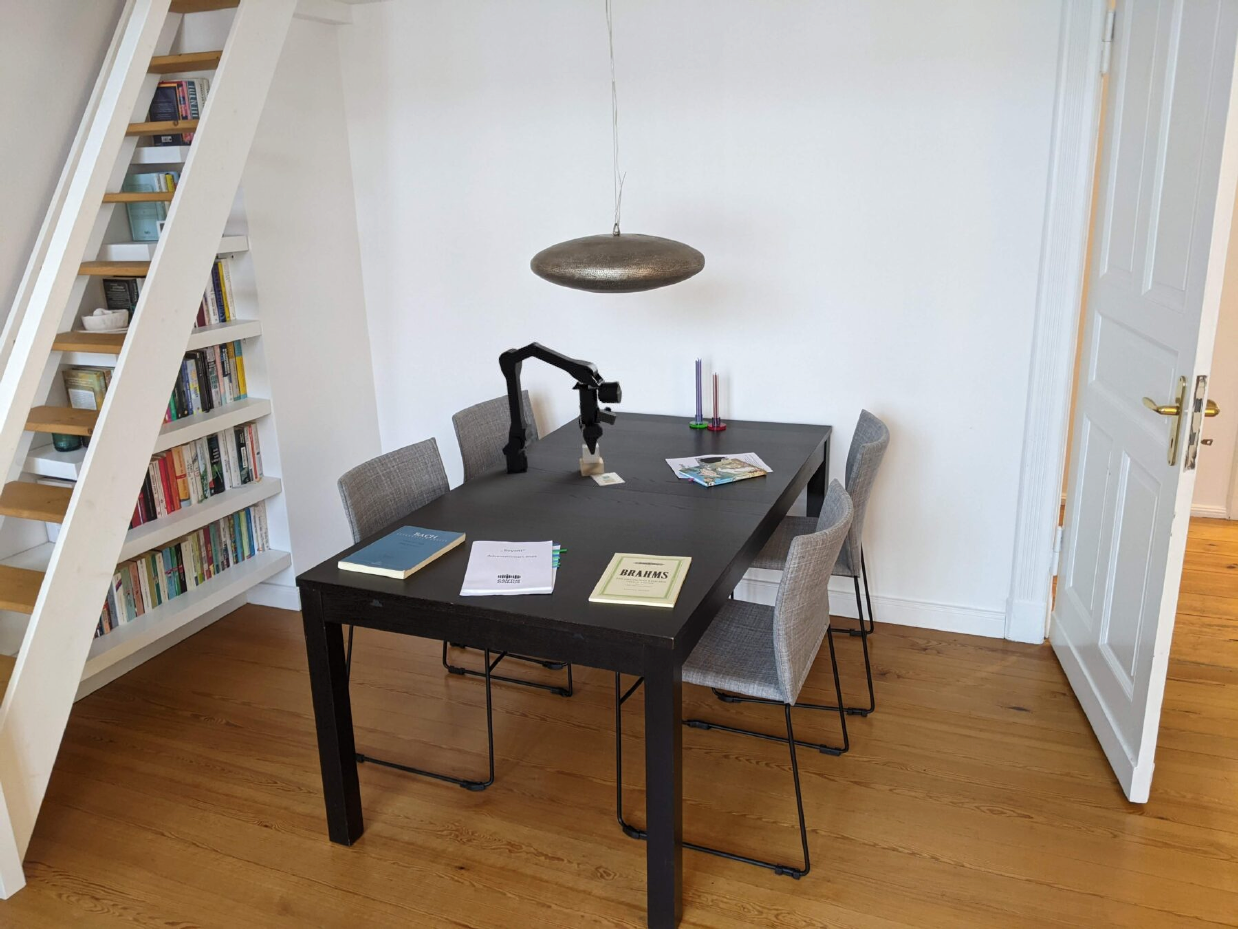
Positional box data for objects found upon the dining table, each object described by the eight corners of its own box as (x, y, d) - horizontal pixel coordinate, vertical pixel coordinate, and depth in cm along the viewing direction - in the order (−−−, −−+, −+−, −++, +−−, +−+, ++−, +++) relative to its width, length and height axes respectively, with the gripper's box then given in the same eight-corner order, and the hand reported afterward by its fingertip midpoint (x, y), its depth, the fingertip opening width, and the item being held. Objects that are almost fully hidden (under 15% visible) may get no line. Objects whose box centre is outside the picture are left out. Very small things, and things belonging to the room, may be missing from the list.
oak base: (582, 476, 301) (581, 464, 300) (580, 470, 307) (579, 458, 306) (604, 475, 301) (603, 463, 300) (601, 468, 308) (601, 457, 307)
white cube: (584, 463, 301) (583, 448, 299) (582, 459, 305) (582, 444, 304) (599, 462, 301) (599, 447, 300) (598, 458, 306) (597, 443, 304)
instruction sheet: (600, 485, 290) (600, 485, 290) (590, 476, 300) (590, 475, 300) (625, 482, 292) (625, 481, 292) (614, 472, 302) (614, 472, 302)
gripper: (617, 407, 290) (620, 456, 294) (610, 394, 308) (612, 441, 312) (581, 410, 289) (584, 459, 293) (576, 397, 306) (579, 443, 311)
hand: (591, 450), depth 302 cm, fingers open, 9 cm apart
